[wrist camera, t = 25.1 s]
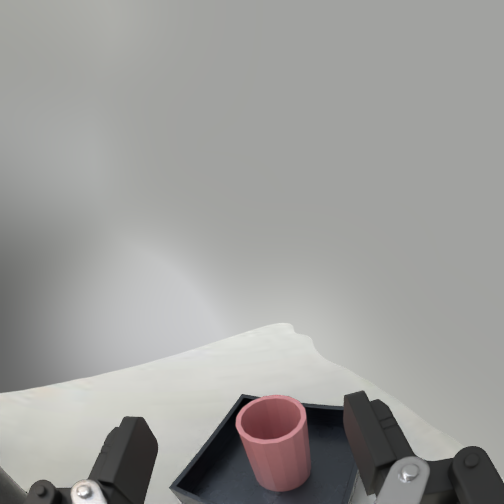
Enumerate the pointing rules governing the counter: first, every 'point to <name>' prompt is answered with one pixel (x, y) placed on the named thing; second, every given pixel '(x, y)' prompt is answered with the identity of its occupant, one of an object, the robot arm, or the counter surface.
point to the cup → (276, 441)
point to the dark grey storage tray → (241, 475)
